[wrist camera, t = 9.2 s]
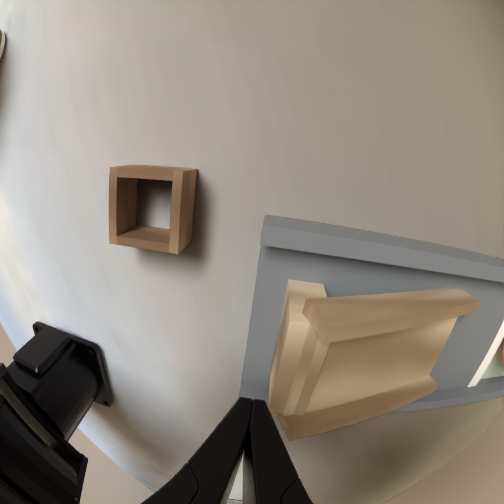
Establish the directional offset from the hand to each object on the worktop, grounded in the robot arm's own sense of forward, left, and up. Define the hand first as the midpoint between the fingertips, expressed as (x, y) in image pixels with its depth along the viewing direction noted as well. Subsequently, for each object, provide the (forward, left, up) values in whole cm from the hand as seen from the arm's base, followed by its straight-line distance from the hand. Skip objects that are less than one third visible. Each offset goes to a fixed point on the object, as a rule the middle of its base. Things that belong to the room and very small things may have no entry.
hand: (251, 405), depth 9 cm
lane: (0, -12, -6) cm, 13 cm away
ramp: (0, -6, -6) cm, 9 cm away
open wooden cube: (+5, +6, -6) cm, 10 cm away
